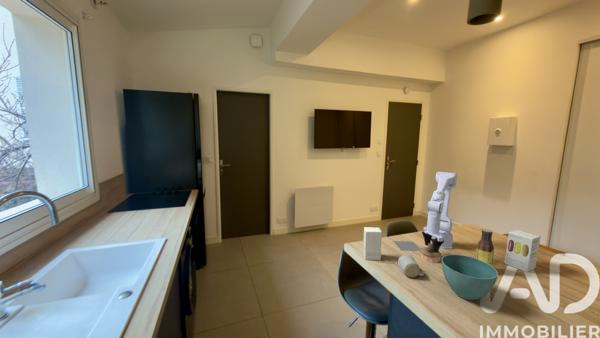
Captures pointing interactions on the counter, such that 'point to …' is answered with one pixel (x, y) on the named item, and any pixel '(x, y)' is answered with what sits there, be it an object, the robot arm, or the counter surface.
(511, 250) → the supplement box
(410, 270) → the ceramic mug
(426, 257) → the bowl
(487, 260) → the sauce bottle
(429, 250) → the lid
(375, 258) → the skincare box
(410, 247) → the mat
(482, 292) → the deep teal bowl
